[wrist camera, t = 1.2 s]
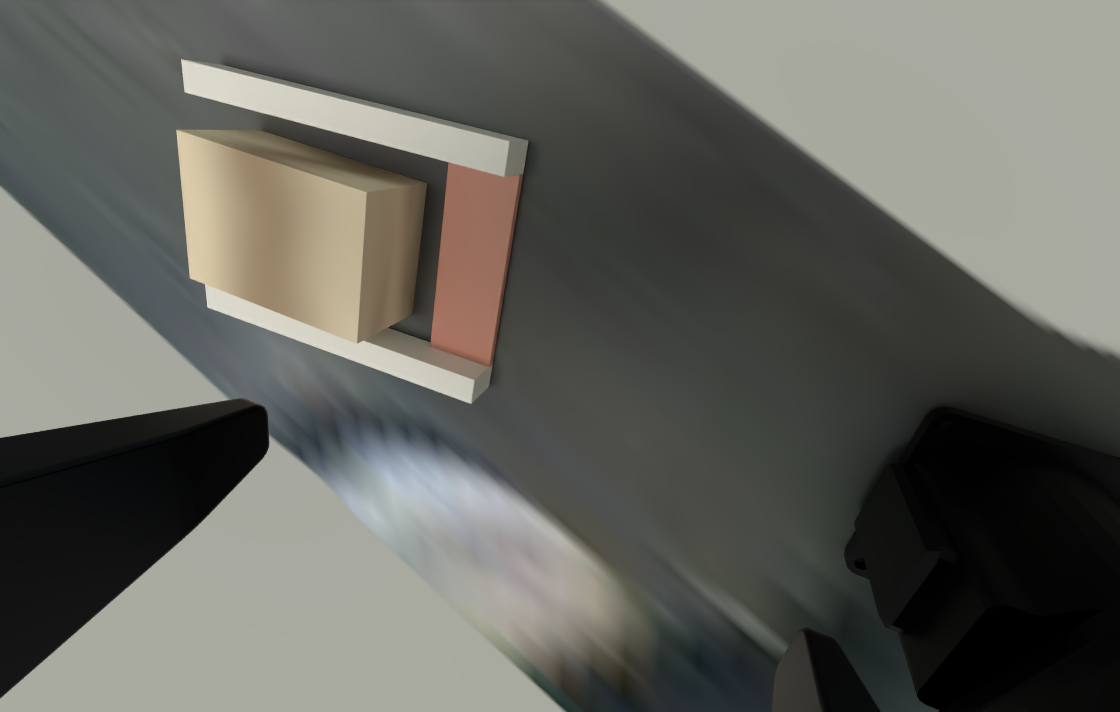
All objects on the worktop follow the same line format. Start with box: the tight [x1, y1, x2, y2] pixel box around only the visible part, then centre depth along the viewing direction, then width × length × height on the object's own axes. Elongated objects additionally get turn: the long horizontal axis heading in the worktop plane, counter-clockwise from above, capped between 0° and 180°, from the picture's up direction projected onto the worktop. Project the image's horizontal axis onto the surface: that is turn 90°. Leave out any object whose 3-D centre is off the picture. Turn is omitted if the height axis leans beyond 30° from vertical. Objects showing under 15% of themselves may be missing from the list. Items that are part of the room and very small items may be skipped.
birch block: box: [177, 130, 427, 344], centre depth 19 cm, size 7×5×4 cm
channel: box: [181, 59, 528, 404], centre depth 19 cm, size 12×9×2 cm
